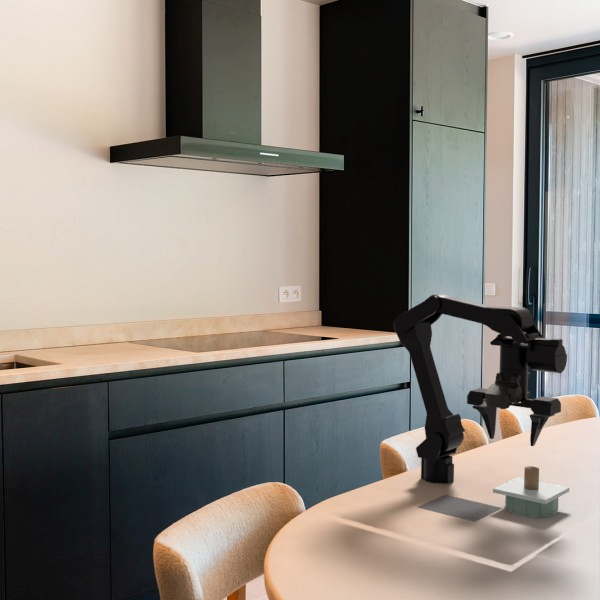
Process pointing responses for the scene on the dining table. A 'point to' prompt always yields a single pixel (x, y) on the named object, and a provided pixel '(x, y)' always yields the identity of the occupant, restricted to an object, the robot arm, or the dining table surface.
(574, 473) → the dining table surface
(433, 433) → the robot arm
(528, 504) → the bowl
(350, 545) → the dining table surface
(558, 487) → the lid
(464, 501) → the mat
